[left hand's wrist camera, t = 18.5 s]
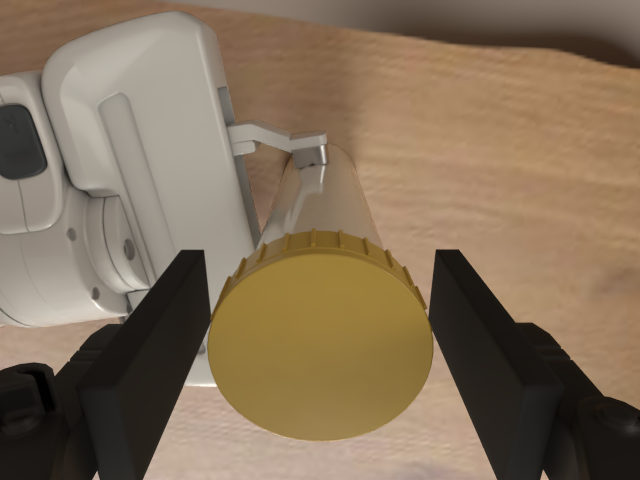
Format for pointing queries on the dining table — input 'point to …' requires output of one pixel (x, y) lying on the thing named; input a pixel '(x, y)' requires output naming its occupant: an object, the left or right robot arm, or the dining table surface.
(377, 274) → the lid
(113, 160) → the right robot arm
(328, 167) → the jar
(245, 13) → the dining table surface
